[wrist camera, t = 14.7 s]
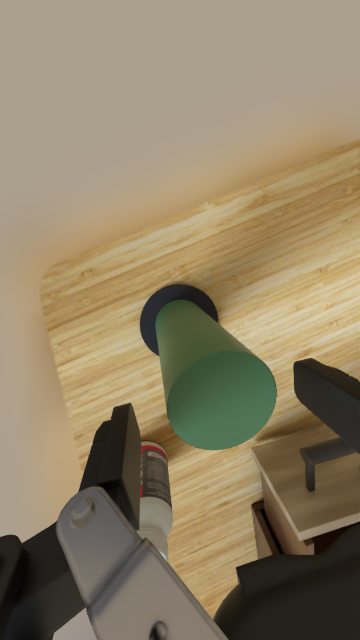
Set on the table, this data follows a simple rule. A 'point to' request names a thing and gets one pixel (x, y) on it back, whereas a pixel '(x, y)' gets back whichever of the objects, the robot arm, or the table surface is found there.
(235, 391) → the tin
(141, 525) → the pill bottle
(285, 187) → the table surface
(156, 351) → the coaster
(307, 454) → the drawer
